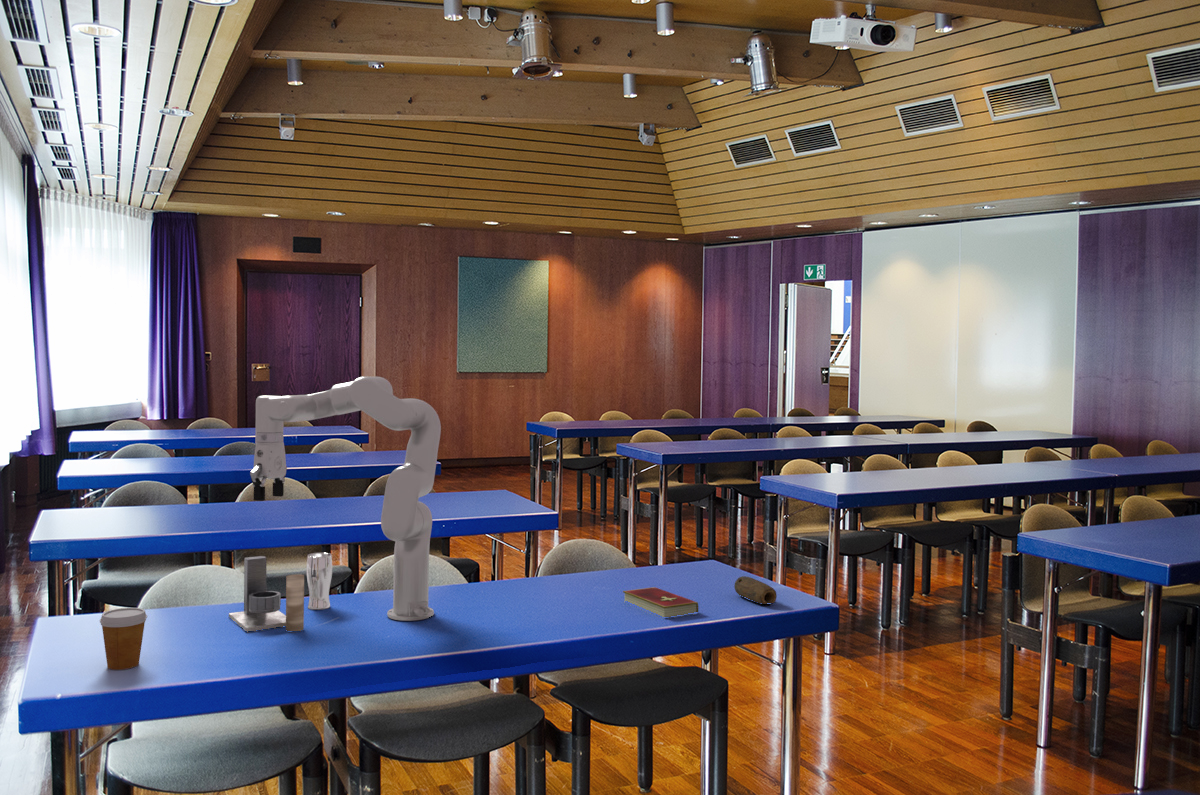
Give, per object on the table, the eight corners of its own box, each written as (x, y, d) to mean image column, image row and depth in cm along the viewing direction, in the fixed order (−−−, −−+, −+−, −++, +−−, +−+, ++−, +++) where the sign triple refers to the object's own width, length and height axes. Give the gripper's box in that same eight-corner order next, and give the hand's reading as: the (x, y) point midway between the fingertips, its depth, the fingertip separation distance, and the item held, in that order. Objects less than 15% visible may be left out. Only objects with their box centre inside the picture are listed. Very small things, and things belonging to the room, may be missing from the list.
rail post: (306, 630, 234) (306, 576, 234) (288, 633, 231) (289, 578, 231) (300, 626, 238) (301, 573, 237) (283, 629, 235) (284, 575, 235)
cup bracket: (293, 625, 238) (294, 564, 238) (246, 632, 231) (247, 569, 231) (273, 611, 252) (274, 553, 252) (228, 617, 245) (229, 558, 244)
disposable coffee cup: (123, 657, 210) (123, 605, 209) (156, 661, 207) (157, 609, 207) (88, 669, 200) (89, 615, 200) (123, 674, 198) (123, 619, 197)
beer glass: (335, 604, 261) (336, 552, 260) (325, 610, 254) (326, 557, 253) (312, 603, 261) (312, 552, 261) (302, 609, 254) (302, 556, 254)
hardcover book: (655, 599, 276) (655, 585, 276) (698, 615, 258) (698, 601, 258) (622, 604, 269) (622, 590, 269) (664, 621, 252) (664, 605, 251)
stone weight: (730, 597, 279) (730, 575, 279) (747, 595, 283) (748, 573, 282) (761, 608, 266) (762, 586, 266) (780, 606, 270) (780, 583, 269)
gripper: (264, 441, 249) (264, 503, 250) (297, 437, 266) (296, 495, 267) (240, 440, 251) (239, 501, 251) (273, 436, 268) (273, 494, 268)
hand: (268, 498), depth 259 cm, fingers open, 9 cm apart
